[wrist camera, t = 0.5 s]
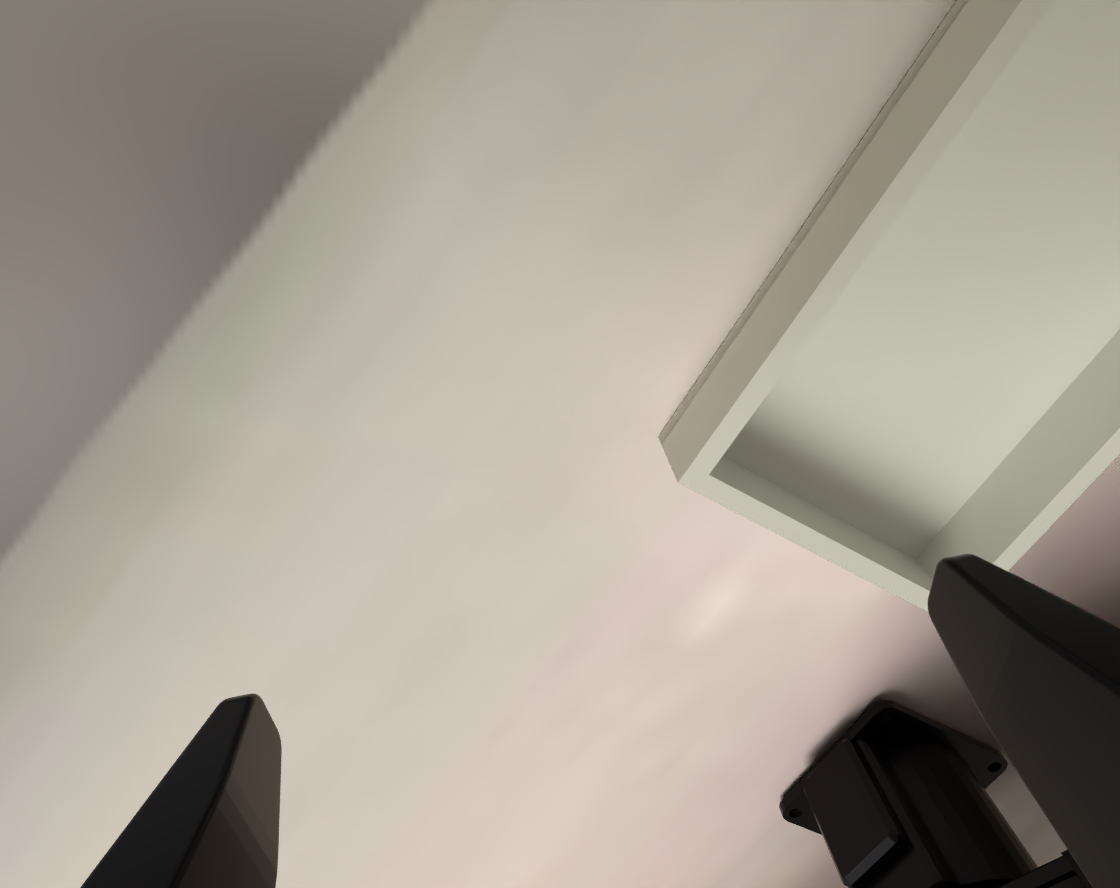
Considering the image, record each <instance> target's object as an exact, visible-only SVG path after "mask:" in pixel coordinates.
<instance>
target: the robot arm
mask: <svg viewBox="0 0 1120 888" xmlns="http://www.w3.org/2000/svg"><path fill="white" fill-rule="evenodd" d="M928 612H929V615H930V618H931V620H932V622H933V624H934V626H935V628H936V630H937V632H938V634H939V636H940V637H941V639H942V641H943V643H944V645H945V647H946V649H947V651H948V653H949V655H950V657H951V659H952V661H953V663H954V665H955V667H956V668H957V670H958V672H959V674H960V676H961V678H962V680H963V682H964V684H965V686H966V688H967V690H968V692H969V694H970V696H971V697H972V699H973V701H974V703H975V705H976V707H977V709H978V710H979V712H980V714H981V716H982V718H983V719H984V721H985V723H986V724H987V726H988V728H989V729H990V731H991V732H992V734H993V736H994V737H995V739H996V740H997V742H998V743H999V745H1000V746H1001V748H1002V749H1003V751H1004V753H1005V754H1006V756H1007V757H1008V759H1009V760H1010V762H1011V763H1012V765H1013V766H1014V768H1015V769H1016V771H1017V772H1018V774H1019V775H1020V777H1021V779H1022V780H1023V782H1024V783H1025V785H1026V786H1027V788H1028V789H1029V791H1030V792H1031V794H1032V795H1033V797H1034V798H1035V800H1036V802H1037V803H1038V805H1039V806H1040V808H1041V809H1042V811H1043V812H1044V814H1045V815H1046V817H1047V818H1048V820H1049V821H1050V823H1051V824H1052V826H1053V828H1054V829H1055V831H1056V832H1057V834H1058V835H1059V837H1060V838H1061V840H1062V841H1063V843H1064V844H1065V846H1066V847H1067V849H1068V850H1066V851H1064V852H1061V854H1062V855H1063V856H1061V857H1059V858H1057V859H1055V860H1053V861H1051V862H1049V863H1046V864H1044V865H1042V866H1040V867H1038V866H1037V865H1036V863H1035V862H1034V861H1033V859H1032V858H1031V856H1030V855H1029V853H1028V852H1027V850H1026V849H1025V847H1024V846H1023V845H1022V843H1021V842H1020V840H1019V839H1018V837H1017V836H1016V834H1015V833H1014V831H1013V830H1012V828H1011V827H1010V826H1009V824H1008V823H1007V821H1006V820H1005V818H1004V817H1003V815H1002V814H1001V812H1000V811H999V810H998V808H997V807H996V805H995V804H994V802H993V801H992V799H991V798H990V796H989V795H988V794H987V792H986V791H985V789H986V788H987V787H988V786H989V785H990V784H991V783H992V782H993V781H994V780H995V779H996V778H997V777H998V776H1000V775H1001V774H1002V773H1003V772H1004V771H1005V769H1006V768H1007V765H1008V764H1007V761H1006V760H1005V758H1004V757H1003V756H1002V754H1001V753H1000V752H999V751H998V750H995V749H993V748H991V747H989V746H987V745H985V744H983V743H981V742H978V741H976V740H974V739H972V738H970V737H968V736H966V735H963V734H961V733H959V732H957V731H955V730H953V729H951V728H948V727H946V726H944V725H942V724H940V723H938V722H936V721H934V720H931V719H929V718H927V717H925V716H923V715H921V714H919V713H916V712H914V711H912V710H910V709H908V708H906V707H904V706H902V705H899V704H897V703H895V702H893V701H891V700H887V699H885V700H879V701H877V702H875V703H874V704H873V705H871V706H870V707H869V709H868V710H867V711H866V712H865V713H864V714H863V715H862V716H861V717H860V718H859V719H858V720H857V721H856V722H855V723H854V724H853V725H852V727H851V728H850V729H849V730H848V731H847V732H846V733H845V734H844V735H843V736H842V737H841V738H840V739H839V740H838V741H837V742H836V743H835V745H834V746H833V747H832V748H831V749H830V750H829V751H828V752H827V753H826V754H825V755H824V756H823V757H822V758H821V759H820V760H819V761H818V763H817V764H816V765H815V766H814V767H813V768H812V769H811V770H810V771H809V772H808V773H807V774H806V775H805V776H804V777H803V778H802V779H801V781H800V782H799V783H798V784H797V785H796V786H795V787H794V788H793V789H792V790H791V791H790V792H789V793H788V794H787V795H786V796H785V797H784V799H783V800H782V801H781V802H780V806H779V808H780V810H781V813H782V816H783V818H784V819H785V820H787V821H788V822H791V823H793V824H796V825H799V826H801V827H804V828H806V829H809V830H811V831H814V832H816V833H819V834H821V835H823V838H824V840H825V842H826V845H827V847H828V850H829V852H830V854H831V857H832V859H833V861H834V864H835V866H836V868H837V871H838V873H839V876H840V878H841V880H842V882H843V884H844V885H845V886H848V888H1120V627H1118V626H1116V625H1114V624H1112V623H1110V622H1108V621H1106V620H1104V619H1102V618H1100V617H1098V616H1096V615H1094V614H1092V613H1090V612H1088V611H1086V610H1084V609H1082V608H1080V607H1078V606H1076V605H1074V604H1072V603H1070V602H1068V601H1066V600H1064V599H1062V598H1060V597H1058V596H1056V595H1054V594H1052V593H1050V592H1048V591H1046V590H1044V589H1042V588H1040V587H1038V586H1036V585H1034V584H1032V583H1030V582H1028V581H1026V580H1024V579H1022V578H1020V577H1018V576H1016V575H1014V574H1012V573H1010V572H1008V571H1006V570H1004V569H1002V568H1000V567H998V566H996V565H994V564H992V563H990V562H988V561H986V560H984V559H982V558H980V557H978V556H976V555H973V554H961V555H956V556H951V557H946V558H943V559H941V560H940V561H939V562H938V563H937V565H936V569H935V572H934V576H933V580H932V584H931V588H930V592H929V596H928ZM884 713H885V714H884ZM280 782H281V740H280V735H279V732H278V730H277V728H276V726H275V724H274V722H273V720H272V718H271V716H270V714H269V712H268V710H267V708H266V706H265V704H264V702H263V700H262V699H261V697H260V696H258V695H257V694H247V695H242V696H237V697H232V698H228V699H225V700H223V701H222V702H221V703H220V704H219V705H218V706H217V707H216V709H215V710H214V711H213V713H212V714H211V715H210V717H209V718H208V719H207V721H206V722H205V723H204V725H203V726H202V727H201V729H200V730H199V731H198V733H197V734H196V735H195V737H194V738H193V739H192V740H191V742H190V743H189V744H188V746H187V747H186V748H185V750H184V751H183V752H182V754H181V755H180V756H179V758H178V759H177V760H176V762H175V763H174V764H173V766H172V767H171V768H170V770H169V771H168V772H167V774H166V775H165V776H164V778H163V779H162V780H161V782H160V783H159V784H158V786H157V787H156V788H155V789H154V791H153V792H152V793H151V795H150V796H149V797H148V799H147V800H146V801H145V803H144V804H143V805H142V807H141V808H140V809H139V811H138V812H137V813H136V815H135V816H134V817H133V819H132V820H131V821H130V823H129V824H128V825H127V827H126V828H125V829H124V831H123V832H122V833H121V835H120V836H119V837H118V839H117V840H116V841H115V842H114V844H113V845H112V846H111V848H110V849H109V850H108V852H107V853H106V854H105V856H104V857H103V858H102V860H101V861H100V862H99V864H98V865H97V866H96V868H95V869H94V870H93V872H92V873H91V874H90V876H89V877H88V878H87V880H86V881H85V882H84V884H83V885H82V886H81V888H275V886H276V878H277V865H278V843H279V812H280Z"/></svg>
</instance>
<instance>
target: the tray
mask: <svg viewBox="0 0 1120 888" xmlns="http://www.w3.org/2000/svg"><path fill="white" fill-rule="evenodd" d="M658 438H659V440H660V442H661V445H662V447H663V449H664V452H665V454H666V456H667V459H668V461H669V463H670V465H671V468H672V470H673V472H674V475H675V477H676V479H677V482H678V483H679V484H681V485H683V486H685V487H687V488H689V489H691V490H693V491H695V492H697V493H699V494H701V495H703V496H705V497H707V498H708V499H710V500H712V501H714V502H716V503H718V504H720V505H722V506H724V507H726V508H728V509H730V510H732V511H734V512H736V513H737V514H739V515H741V516H743V517H745V518H747V519H749V520H751V521H753V522H755V523H757V524H759V525H761V526H763V527H765V528H766V529H768V530H770V531H772V532H774V533H776V534H778V535H780V536H782V537H784V538H786V539H788V540H790V541H792V542H794V543H795V544H797V545H799V546H801V547H803V548H805V549H807V550H809V551H811V552H813V553H815V554H817V555H819V556H821V557H823V558H824V559H826V560H828V561H830V562H832V563H834V564H836V565H838V566H840V567H842V568H844V569H846V570H848V571H850V572H852V573H853V574H855V575H857V576H859V577H861V578H863V579H865V580H867V581H869V582H871V583H873V584H875V585H877V586H879V587H881V588H882V589H884V590H886V591H888V592H890V593H892V594H894V595H896V596H898V597H900V598H902V599H904V600H906V601H908V602H910V603H912V604H913V605H915V606H917V607H919V608H921V609H923V610H925V611H927V612H928V596H929V592H930V588H931V584H932V580H933V576H934V572H935V569H936V565H937V563H938V562H939V561H940V560H941V559H943V558H946V557H951V556H956V555H961V554H973V555H976V556H978V557H980V558H982V559H984V560H986V561H988V562H990V563H992V564H994V565H996V566H998V567H1000V568H1002V569H1004V570H1006V571H1009V570H1010V569H1011V568H1012V566H1013V565H1014V564H1015V563H1016V562H1017V561H1018V560H1019V559H1020V558H1021V557H1022V556H1023V555H1024V554H1025V553H1026V552H1027V551H1028V550H1029V549H1030V548H1031V547H1032V545H1033V544H1034V543H1035V542H1036V541H1037V540H1038V539H1039V538H1040V537H1041V536H1042V535H1043V534H1044V533H1045V532H1046V531H1047V530H1048V529H1049V528H1050V527H1051V525H1052V524H1053V523H1054V522H1055V521H1056V520H1057V519H1058V518H1059V517H1060V516H1061V515H1062V514H1063V513H1064V512H1065V511H1066V510H1067V509H1068V508H1069V507H1070V505H1071V504H1072V503H1073V502H1074V501H1075V500H1076V499H1077V498H1078V497H1079V496H1080V495H1081V494H1082V493H1083V492H1084V491H1085V490H1086V489H1087V488H1088V487H1089V485H1090V484H1091V483H1092V482H1093V481H1094V480H1095V479H1096V478H1097V477H1098V476H1099V475H1100V474H1101V473H1102V472H1103V471H1104V470H1105V469H1106V468H1107V467H1108V466H1109V464H1110V463H1111V462H1112V461H1113V460H1114V459H1115V458H1116V457H1117V456H1118V455H1119V454H1120V0H957V1H956V2H955V4H954V5H953V7H952V8H951V10H950V11H949V13H948V14H947V16H946V17H945V18H944V20H943V21H942V23H941V24H940V26H939V27H938V29H937V30H936V32H935V33H934V35H933V36H932V37H931V39H930V40H929V42H928V43H927V45H926V46H925V48H924V49H923V51H922V52H921V54H920V55H919V56H918V58H917V59H916V61H915V62H914V64H913V65H912V67H911V68H910V70H909V71H908V73H907V74H906V75H905V77H904V78H903V80H902V81H901V83H900V84H899V86H898V87H897V89H896V90H895V92H894V93H893V95H892V96H891V97H890V99H889V100H888V102H887V103H886V105H885V106H884V108H883V109H882V111H881V112H880V114H879V115H878V116H877V118H876V119H875V121H874V122H873V124H872V125H871V127H870V128H869V130H868V131H867V133H866V134H865V135H864V137H863V138H862V140H861V141H860V143H859V144H858V146H857V147H856V149H855V150H854V152H853V153H852V154H851V156H850V157H849V159H848V160H847V162H846V163H845V165H844V166H843V168H842V169H841V171H840V172H839V173H838V175H837V176H836V178H835V179H834V181H833V182H832V184H831V185H830V187H829V188H828V190H827V191H826V192H825V194H824V195H823V197H822V198H821V200H820V201H819V203H818V204H817V206H816V207H815V209H814V210H813V211H812V213H811V214H810V216H809V217H808V219H807V220H806V222H805V223H804V225H803V226H802V228H801V229H800V231H799V232H798V233H797V235H796V236H795V238H794V239H793V241H792V242H791V244H790V245H789V247H788V248H787V250H786V251H785V252H784V254H783V255H782V257H781V258H780V260H779V261H778V263H777V264H776V266H775V267H774V269H773V270H772V271H771V273H770V274H769V276H768V277H767V279H766V280H765V282H764V283H763V285H762V286H761V288H760V289H759V290H758V292H757V293H756V295H755V296H754V298H753V299H752V301H751V302H750V304H749V305H748V307H747V308H746V309H745V311H744V312H743V314H742V315H741V317H740V318H739V320H738V321H737V323H736V324H735V326H734V327H733V328H732V330H731V331H730V333H729V334H728V336H727V337H726V339H725V340H724V342H723V343H722V345H721V346H720V347H719V349H718V350H717V352H716V353H715V355H714V356H713V358H712V359H711V361H710V362H709V364H708V365H707V366H706V368H705V369H704V371H703V372H702V374H701V375H700V377H699V378H698V380H697V381H696V383H695V384H694V386H693V387H692V388H691V390H690V391H689V393H688V394H687V396H686V397H685V399H684V400H683V402H682V403H681V405H680V406H679V407H678V409H677V410H676V412H675V413H674V415H673V416H672V418H671V419H670V421H669V422H668V424H667V425H666V426H665V428H664V429H663V431H662V432H661V434H660V435H659V437H658Z"/></svg>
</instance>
